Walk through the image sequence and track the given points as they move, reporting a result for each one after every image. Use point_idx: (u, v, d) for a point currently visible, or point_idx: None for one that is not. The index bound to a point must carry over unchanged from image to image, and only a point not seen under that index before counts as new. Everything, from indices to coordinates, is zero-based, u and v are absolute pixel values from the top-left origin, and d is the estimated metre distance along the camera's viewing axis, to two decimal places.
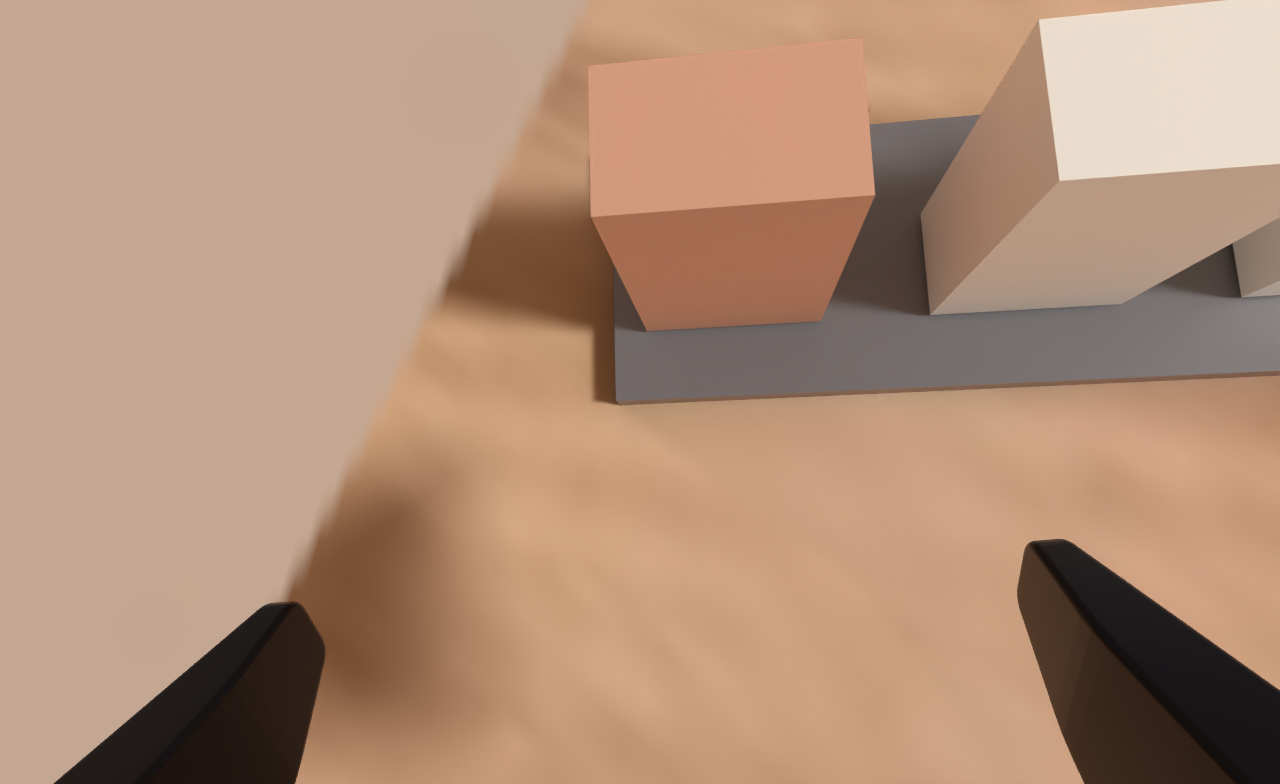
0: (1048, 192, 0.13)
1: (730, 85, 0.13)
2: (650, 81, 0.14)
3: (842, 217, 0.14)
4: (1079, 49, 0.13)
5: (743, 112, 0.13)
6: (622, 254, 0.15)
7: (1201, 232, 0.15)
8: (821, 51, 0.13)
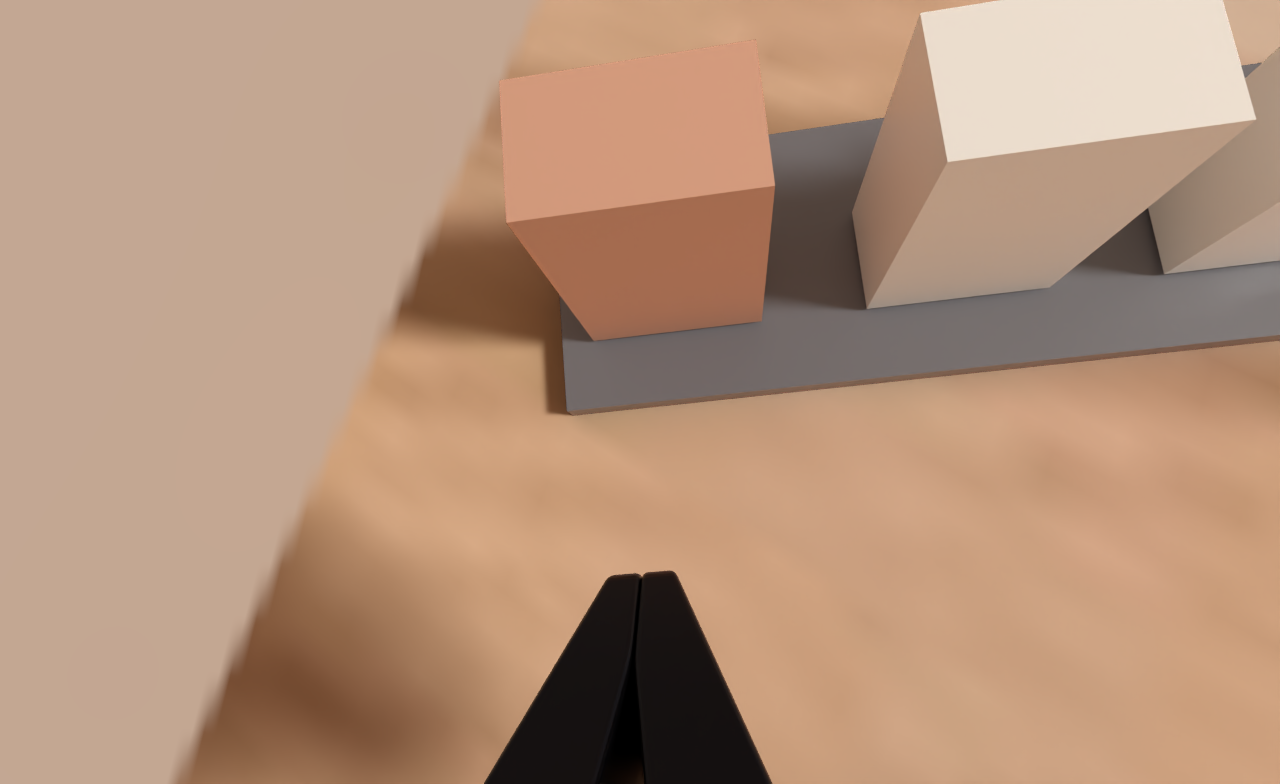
0: (940, 174, 0.13)
1: (634, 91, 0.14)
2: (558, 91, 0.14)
3: (750, 210, 0.14)
4: (959, 38, 0.13)
5: (647, 115, 0.14)
6: (547, 260, 0.16)
7: (1101, 208, 0.15)
8: (718, 54, 0.14)
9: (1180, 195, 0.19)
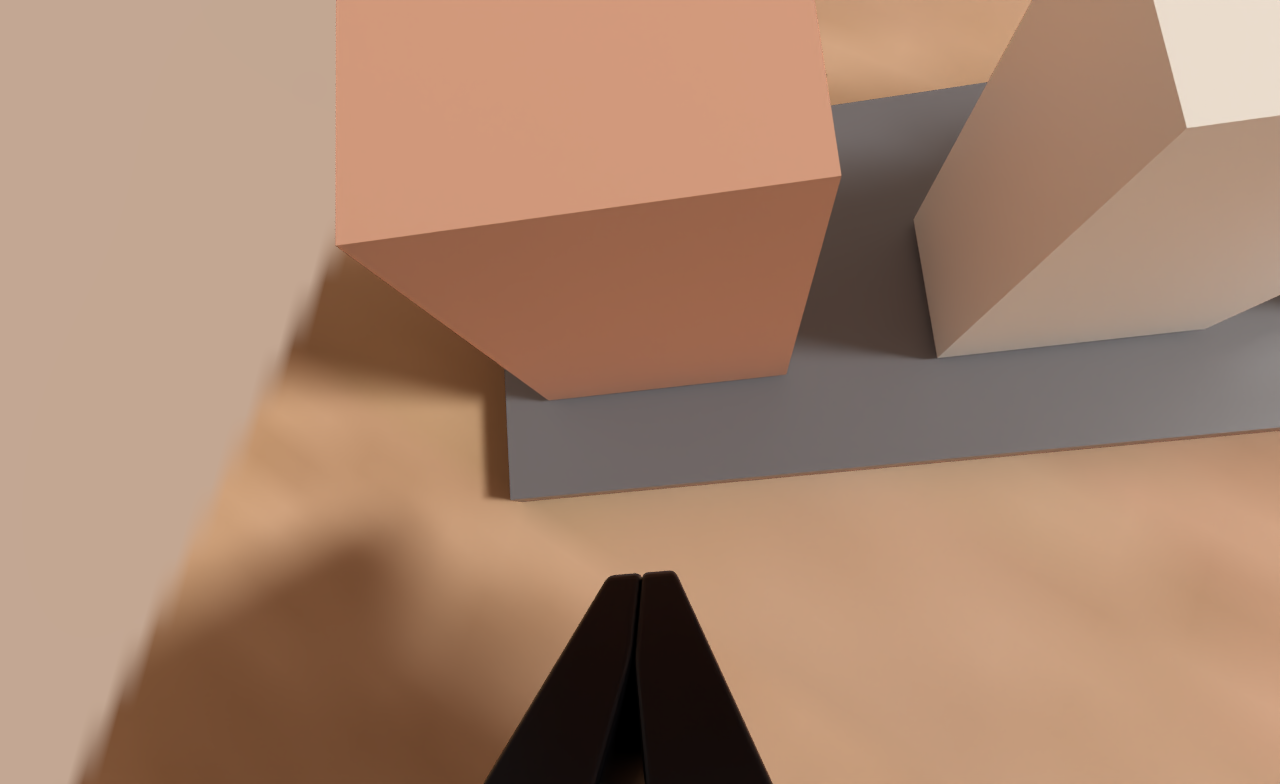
0: (1159, 154, 0.07)
1: (575, 2, 0.08)
2: (439, 6, 0.08)
3: (788, 222, 0.08)
4: None
5: (599, 47, 0.07)
6: (440, 304, 0.09)
7: None
8: None
9: None
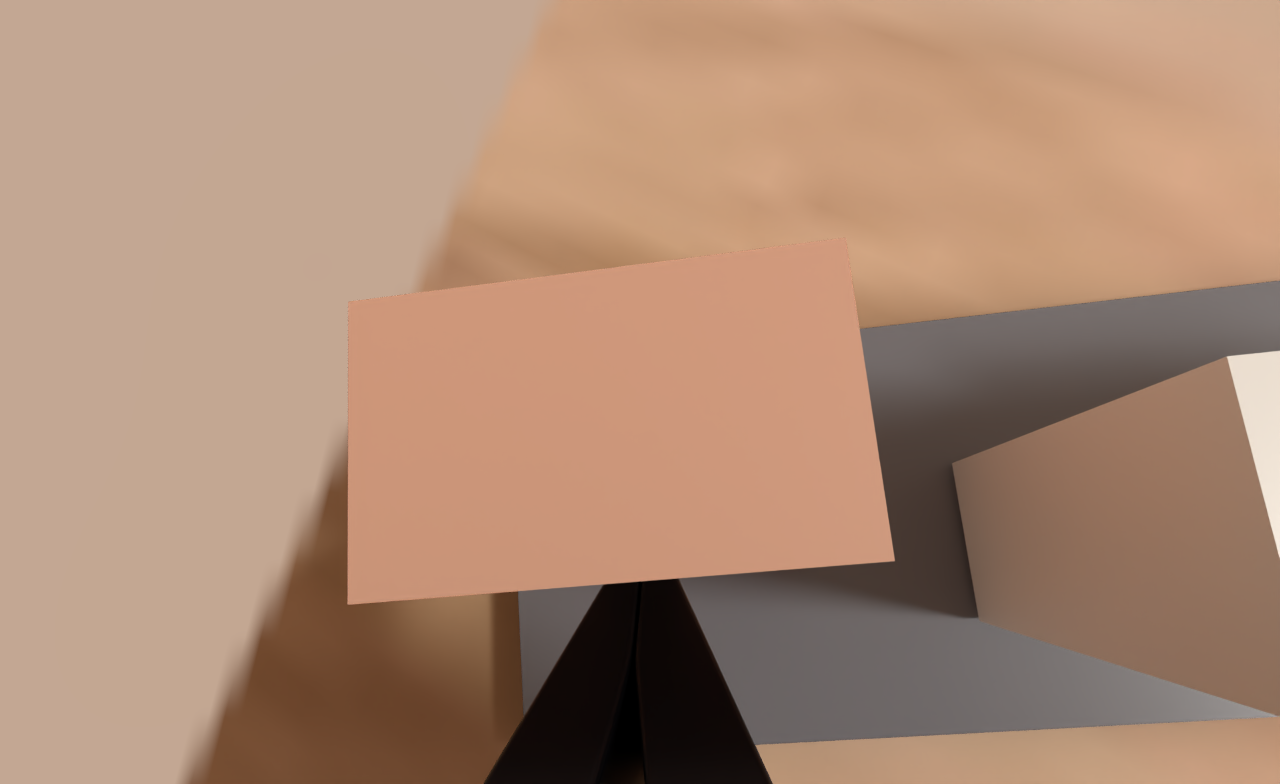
0: None
1: (604, 335, 0.07)
2: (458, 329, 0.07)
3: None
4: None
5: (631, 388, 0.07)
6: None
7: None
8: (771, 265, 0.07)
9: None
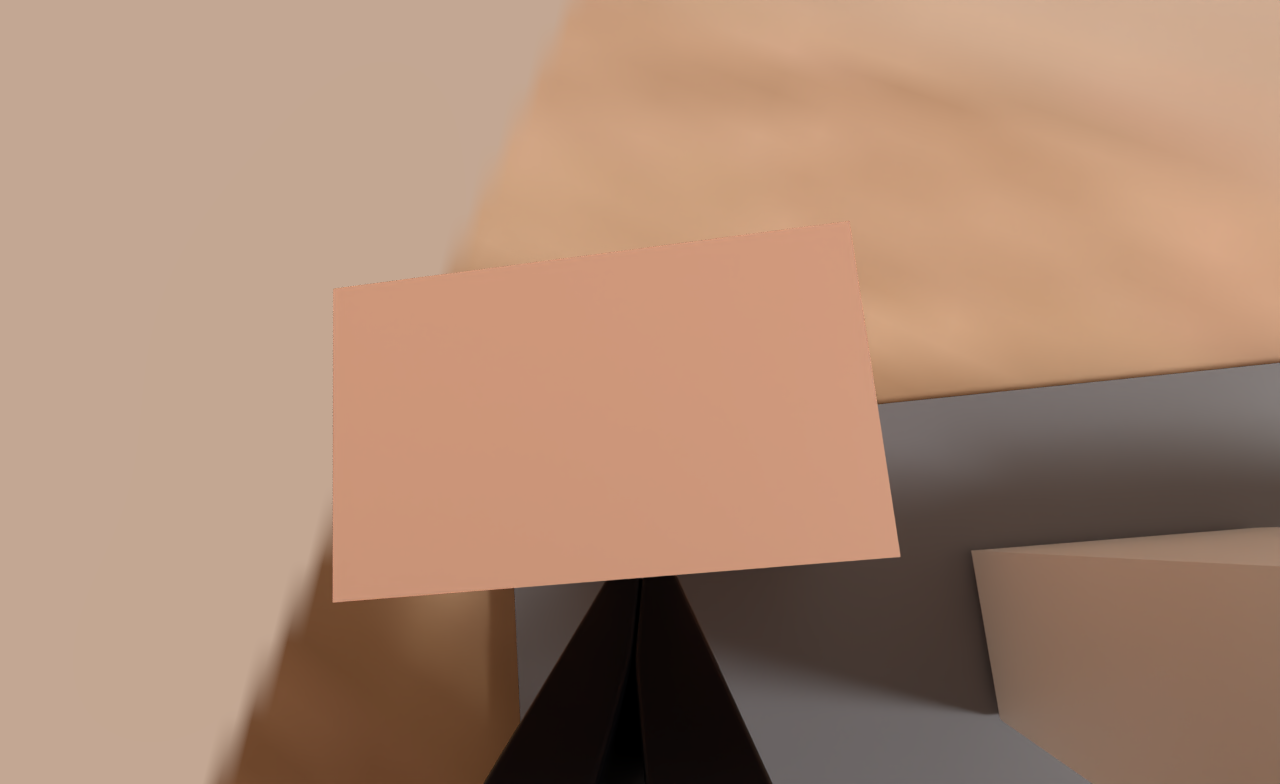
0: None
1: (598, 323, 0.07)
2: (447, 317, 0.07)
3: None
4: None
5: (626, 379, 0.07)
6: None
7: None
8: (772, 250, 0.07)
9: None
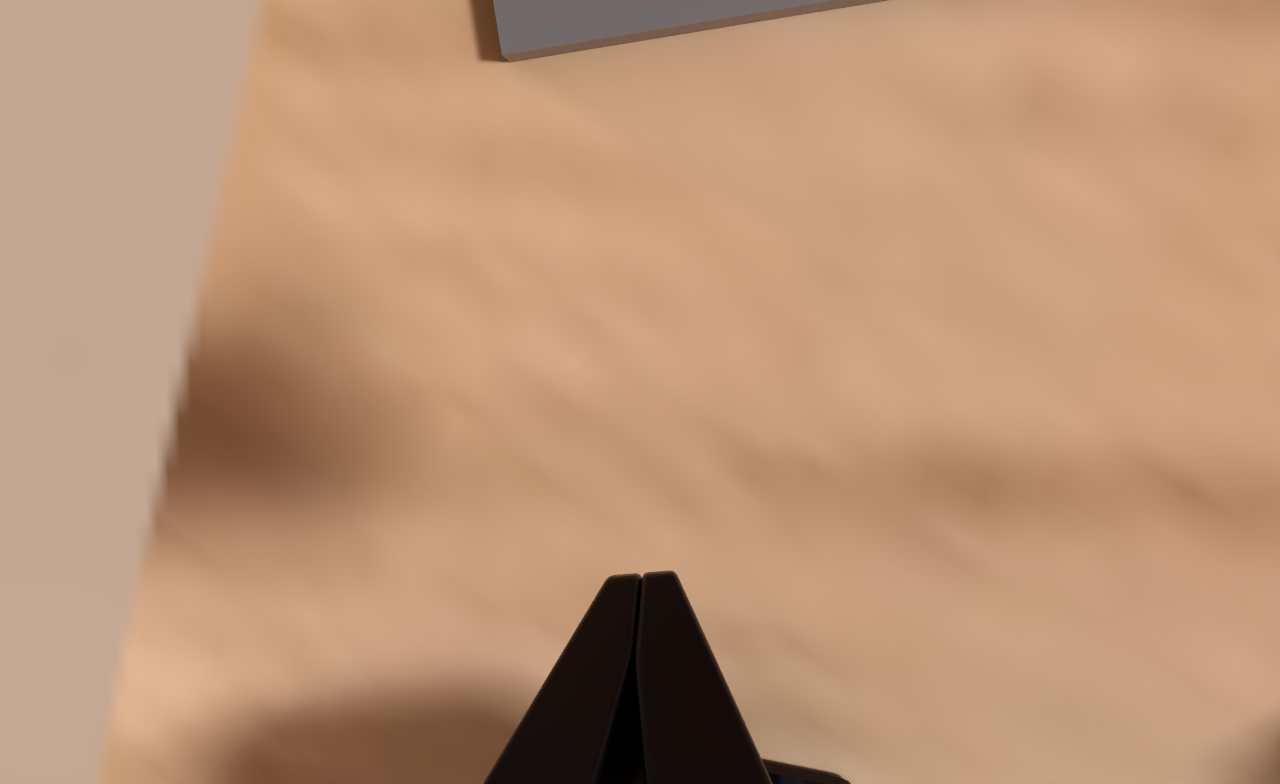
0: None
1: None
2: None
3: None
4: None
5: None
6: None
7: None
8: None
9: None
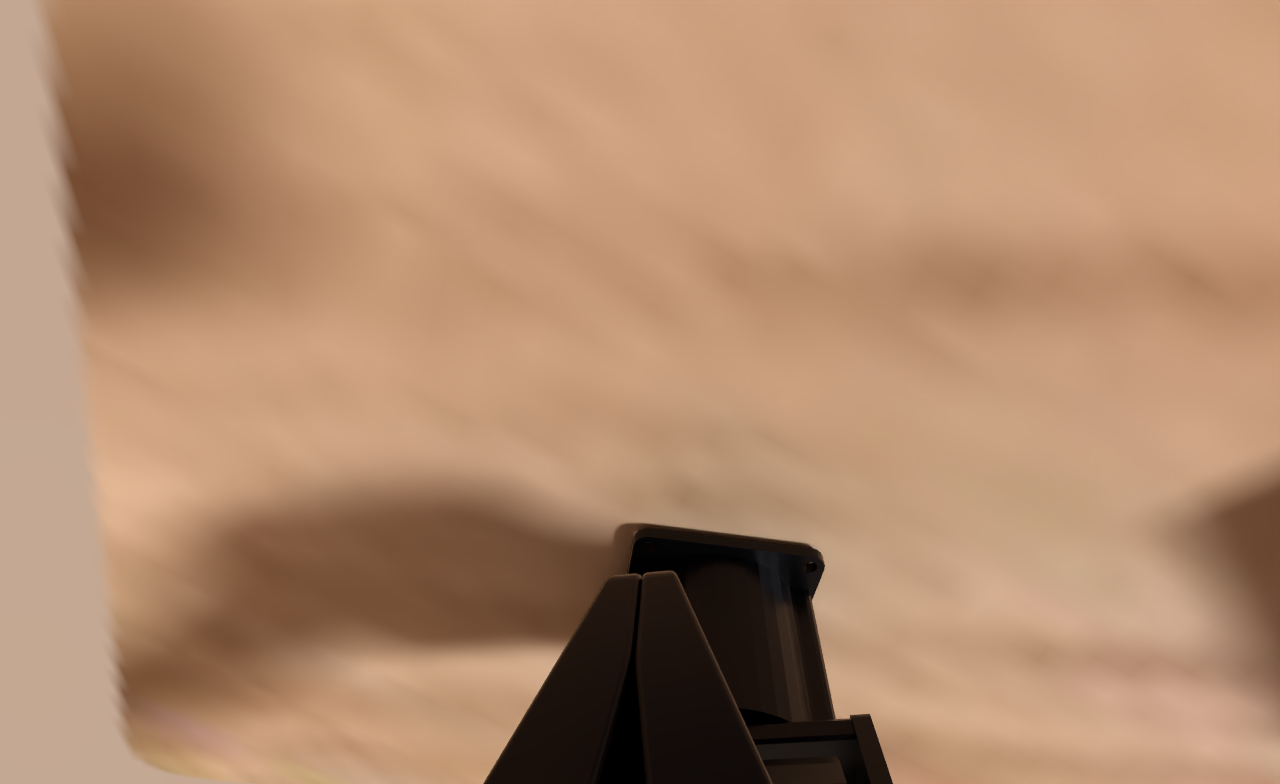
0: None
1: None
2: None
3: None
4: None
5: None
6: None
7: None
8: None
9: None
